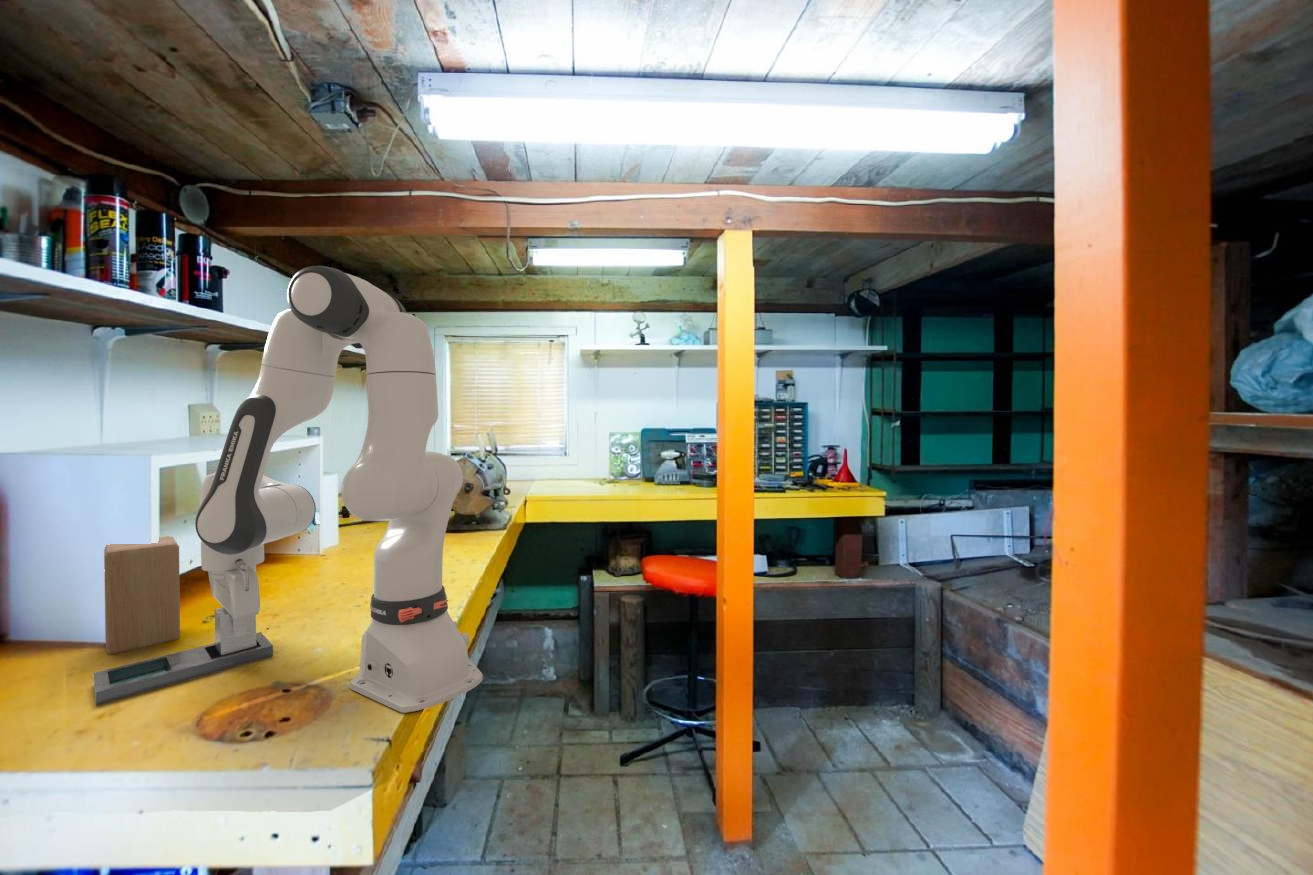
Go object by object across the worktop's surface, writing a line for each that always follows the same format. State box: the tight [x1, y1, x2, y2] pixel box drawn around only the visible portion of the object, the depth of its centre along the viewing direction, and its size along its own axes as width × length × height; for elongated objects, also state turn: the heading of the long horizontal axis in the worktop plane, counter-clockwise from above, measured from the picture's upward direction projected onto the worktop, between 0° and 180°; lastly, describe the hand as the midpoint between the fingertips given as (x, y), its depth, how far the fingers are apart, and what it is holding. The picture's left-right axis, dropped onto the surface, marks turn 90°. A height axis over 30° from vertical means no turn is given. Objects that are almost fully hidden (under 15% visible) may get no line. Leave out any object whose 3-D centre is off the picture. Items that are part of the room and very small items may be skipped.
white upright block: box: [214, 607, 257, 655], centre depth 92 cm, size 5×5×7 cm
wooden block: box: [103, 535, 181, 655], centre depth 99 cm, size 10×10×20 cm
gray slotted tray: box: [93, 631, 274, 706], centre depth 88 cm, size 9×22×3 cm, turn 140°
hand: (235, 630), depth 92 cm, fingers closed on white upright block, 5 cm apart
